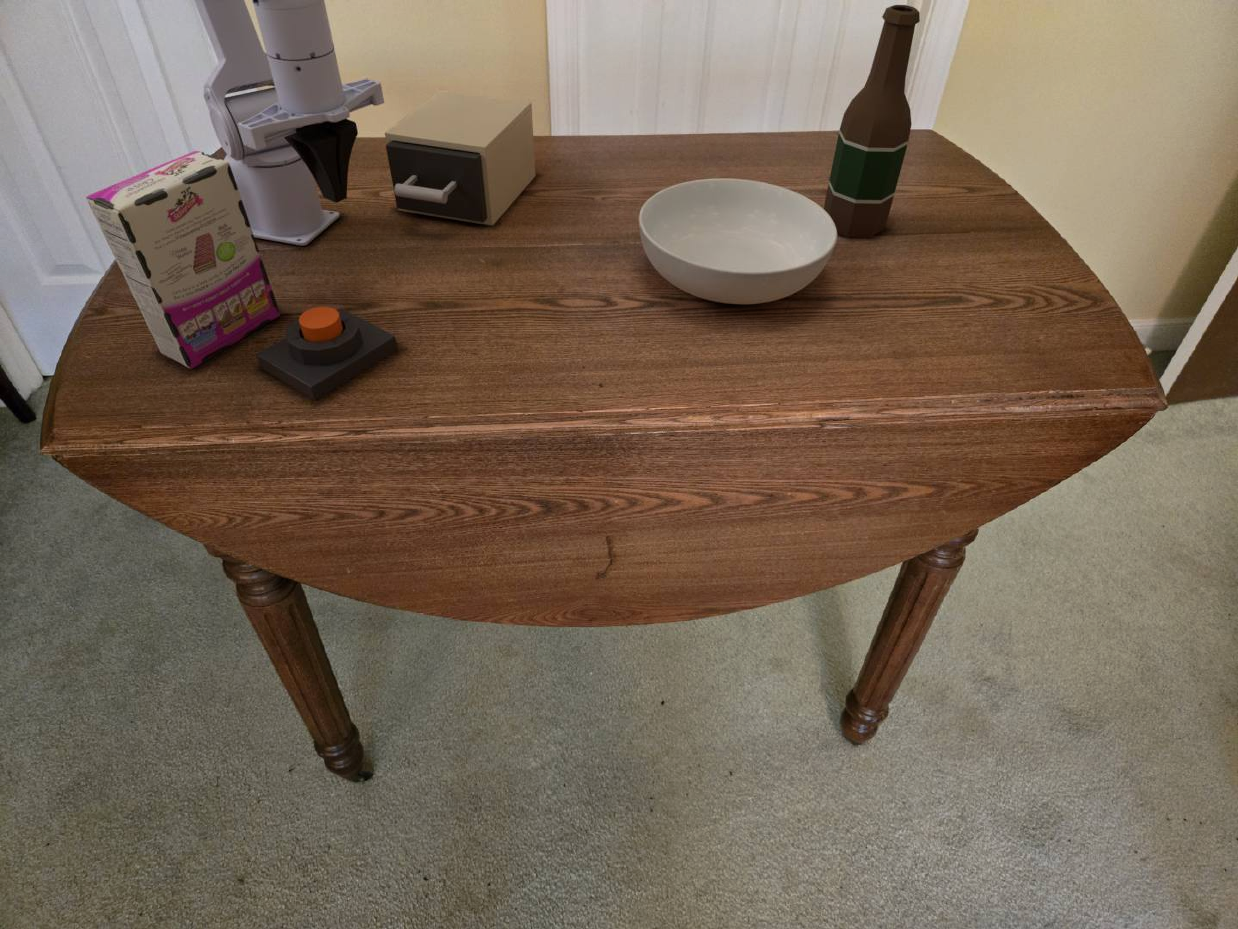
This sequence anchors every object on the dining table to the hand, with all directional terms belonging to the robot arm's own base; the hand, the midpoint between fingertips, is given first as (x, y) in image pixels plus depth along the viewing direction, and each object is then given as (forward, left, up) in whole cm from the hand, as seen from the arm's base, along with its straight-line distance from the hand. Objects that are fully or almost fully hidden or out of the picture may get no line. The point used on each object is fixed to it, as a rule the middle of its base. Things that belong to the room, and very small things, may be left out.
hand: (335, 197), depth 81 cm
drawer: (+2, +21, -10) cm, 23 cm away
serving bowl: (+38, +15, -11) cm, 42 cm away
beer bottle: (+50, +32, -11) cm, 60 cm away
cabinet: (+2, +25, -10) cm, 27 cm away
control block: (+4, -12, -10) cm, 16 cm away
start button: (+4, -12, -7) cm, 15 cm away
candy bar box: (-8, -12, -11) cm, 18 cm away
